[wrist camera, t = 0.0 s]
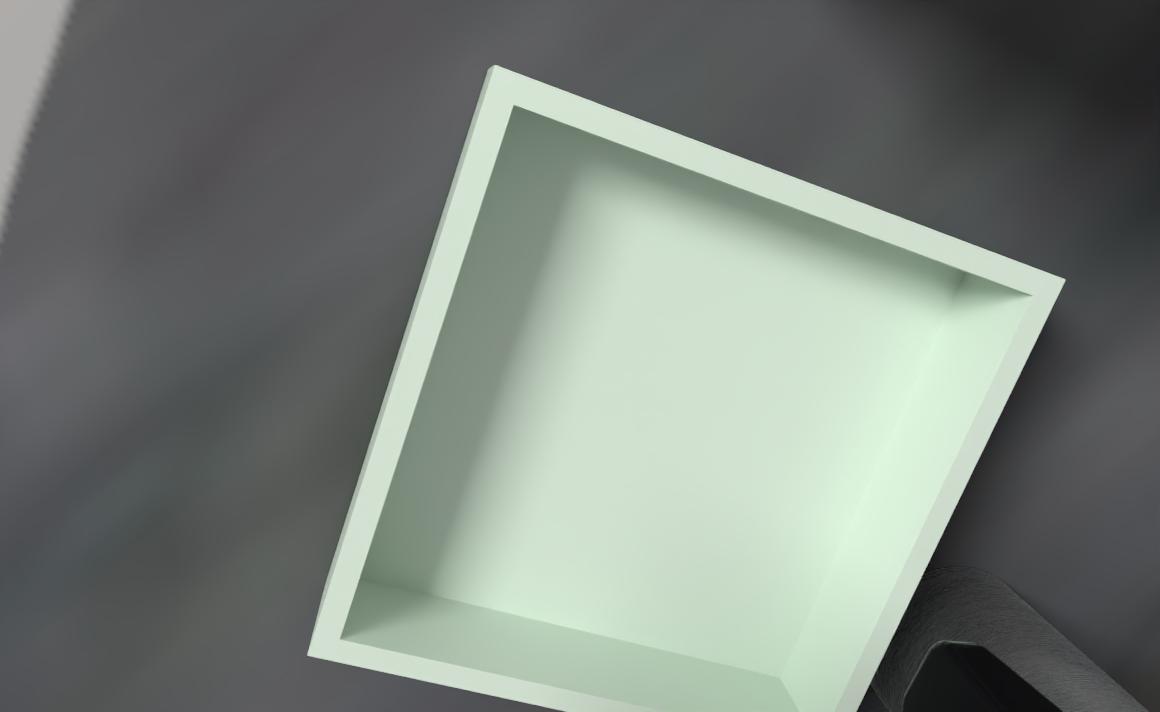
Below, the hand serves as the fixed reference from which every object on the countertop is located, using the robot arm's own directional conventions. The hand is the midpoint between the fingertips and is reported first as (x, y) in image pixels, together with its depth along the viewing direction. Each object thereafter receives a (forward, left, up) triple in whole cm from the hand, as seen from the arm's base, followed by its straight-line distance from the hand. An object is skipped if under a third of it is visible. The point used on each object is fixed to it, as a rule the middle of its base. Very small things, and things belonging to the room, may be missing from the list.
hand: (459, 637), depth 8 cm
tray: (+2, -6, -15) cm, 17 cm away
